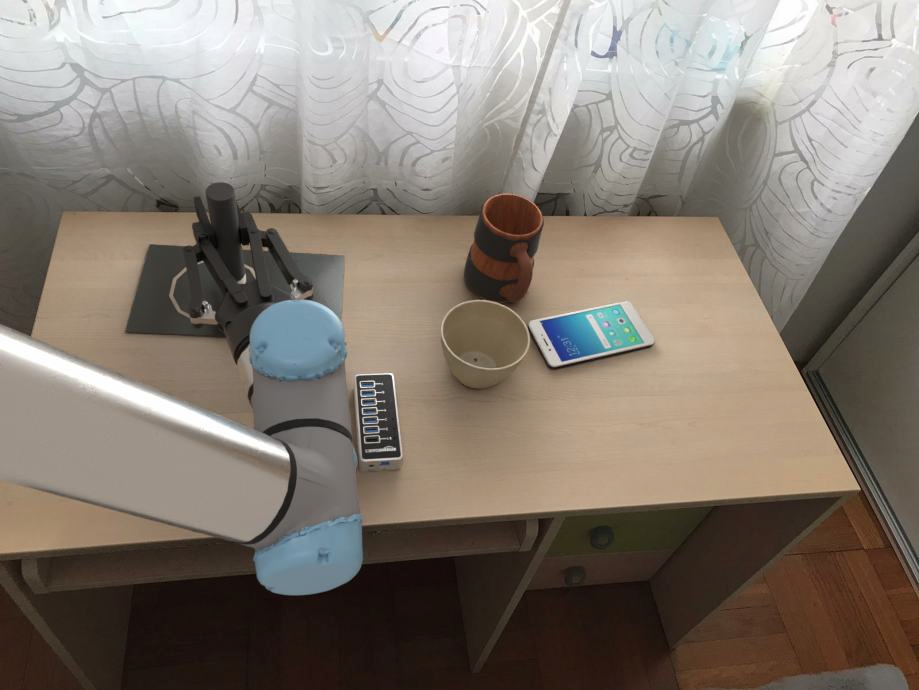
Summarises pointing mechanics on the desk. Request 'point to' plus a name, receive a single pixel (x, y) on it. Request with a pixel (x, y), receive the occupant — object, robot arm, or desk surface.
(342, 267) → the board
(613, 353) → the smartphone
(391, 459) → the multiport hub
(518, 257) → the mug
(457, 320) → the flower pot
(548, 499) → the desk surface
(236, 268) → the cylinder
